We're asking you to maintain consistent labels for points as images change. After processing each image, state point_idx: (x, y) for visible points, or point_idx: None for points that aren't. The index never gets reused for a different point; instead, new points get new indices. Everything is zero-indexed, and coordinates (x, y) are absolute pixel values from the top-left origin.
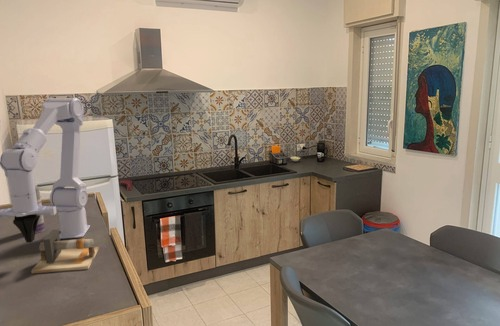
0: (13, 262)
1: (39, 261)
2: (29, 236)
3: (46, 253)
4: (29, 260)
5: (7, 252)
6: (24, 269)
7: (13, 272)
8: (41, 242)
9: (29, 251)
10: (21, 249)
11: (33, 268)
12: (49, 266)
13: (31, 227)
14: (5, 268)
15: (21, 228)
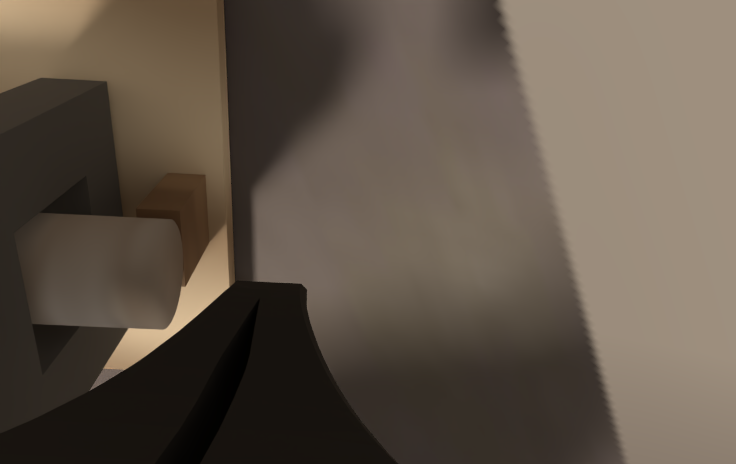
0: (490, 244)
1: (218, 161)
2: (215, 316)
3: (37, 105)
4: (357, 252)
5: (594, 433)
6: (335, 71)
7: (423, 27)
8: (138, 304)
9: (418, 416)
10: (496, 460)
11: (212, 2)
12: (53, 12)
13: (63, 407)
14: (528, 136)
15: (293, 413)
